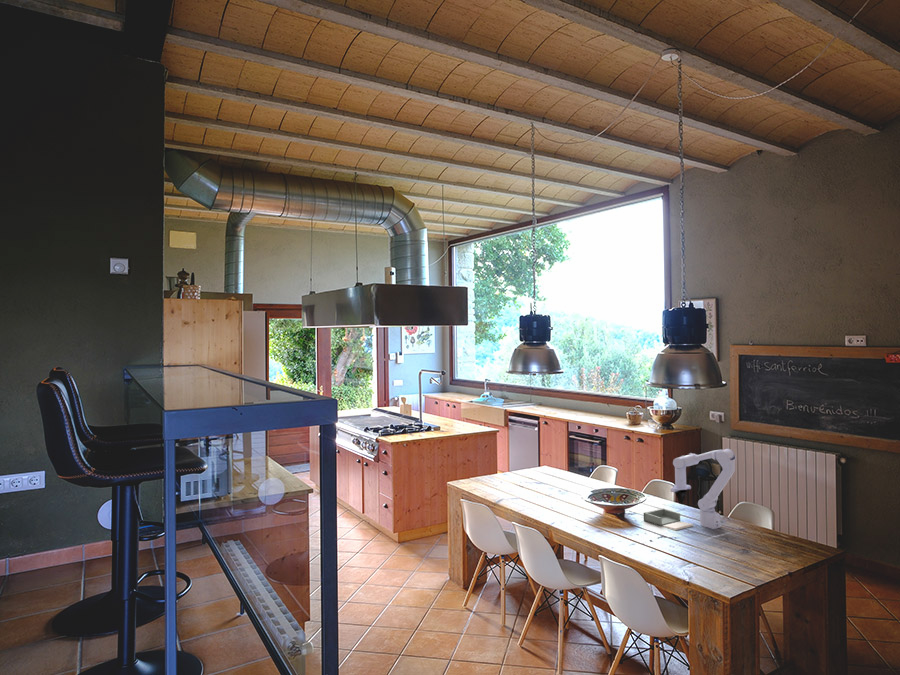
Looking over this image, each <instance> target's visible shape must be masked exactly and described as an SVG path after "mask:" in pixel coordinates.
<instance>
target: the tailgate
mask: <svg viewBox="0 0 900 675" xmlns="http://www.w3.org/2000/svg"><path fill="white" fill-rule="evenodd" d="M662 527H663V528H666V529H670V530H672V531H678V530H679V531H680V530H682V529H686V528H690V527H694V523H691V522H690V523H689V522H686V521H685V522H684V521H681V520H680V521H679V522H675V523H671V524H667V525H663V526H662Z"/></svg>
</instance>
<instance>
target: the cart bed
mask: <svg viewBox="0 0 900 675" xmlns="http://www.w3.org/2000/svg"><path fill="white" fill-rule="evenodd" d="M679 521H681V513H680V512H677V511H673V510H670V509H666V508H660V509H654V510H651V511H646V512H643V522H646V523H649V524H652V525H655V526H658V527H663V525H667V524H671V523H675V522H679Z"/></svg>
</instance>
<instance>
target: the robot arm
mask: <svg viewBox="0 0 900 675" xmlns="http://www.w3.org/2000/svg"><path fill="white" fill-rule="evenodd" d="M708 459H713V460H714V461H717V462H718V463H719V465H720V466H721V468H722V470H721V472H720V474H719V475H718V476H717V478H716V480H715V481H714V482H713V484H712V485H711V487H710V489H709V490H708V492H707V493H706V494H704V495H703V497H702V498H700V499H699V500H698V502H697V506H698V508H699V513H700V514H699V517H700V518H699V520H700V521H699V522H700V526H701V527H704V528H709V529H711V530H715V529H718V528H721V526H722V525H721V524H722V523H721V515H720V513H719V512H717V511H716V509H715V507H716V506H717V501H718V500H719V496H720V494H721V492H722V491H723V490H724V488H725V487H726V485H727V484H728V482H729V481H730V479H731V478H732V477H733V474H734V473H735V472H736V459H737V457H736V454H735V452H734V450H732V449H730V448H724V449H716V450H711V451H708V452H703V453H701V454H696V453H692V452H690V453H688V454H687V455H681V456H679V457H676V458H674V459H673V461H672V465H673V467H674V481H675V482H674V483H675V484H674V485H673V487H671V488H670V492H671V493H675V495H676V499H677V502H678V504H681V505H684V503H685V500H686V498H687V494H688V492H689V491H688V490H691V489H692V486H691V485H690V484H687V467H690V466H694V465H698V464H699V462H700V461H704V460H708Z"/></svg>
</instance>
